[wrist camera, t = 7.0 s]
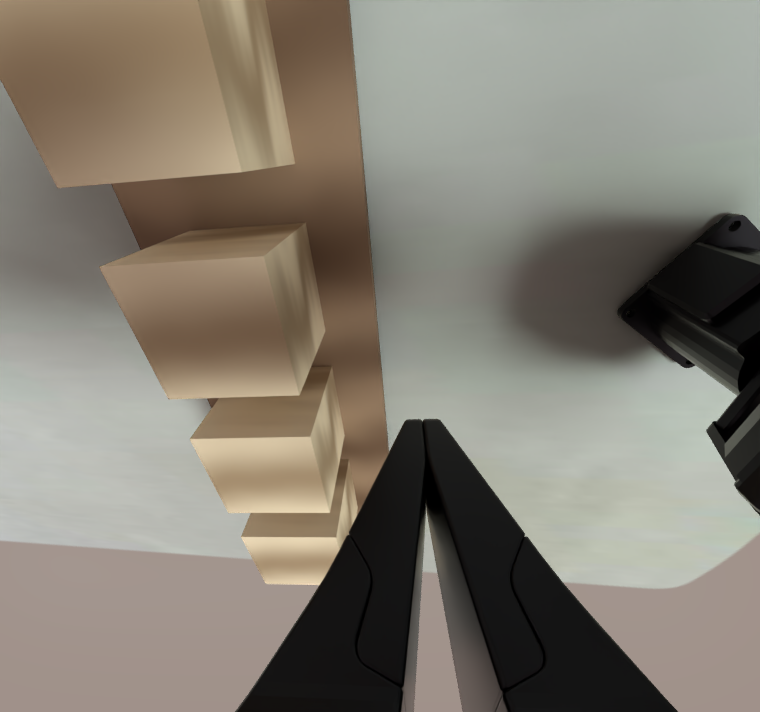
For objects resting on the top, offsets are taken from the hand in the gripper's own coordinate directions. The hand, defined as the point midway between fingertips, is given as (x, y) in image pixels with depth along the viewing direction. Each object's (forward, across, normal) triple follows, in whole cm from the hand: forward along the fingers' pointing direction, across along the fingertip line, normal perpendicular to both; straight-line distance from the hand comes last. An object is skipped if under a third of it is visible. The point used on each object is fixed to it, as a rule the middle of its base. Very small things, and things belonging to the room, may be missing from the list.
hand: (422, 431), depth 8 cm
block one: (+11, +8, -9) cm, 16 cm away
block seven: (+11, +8, 0) cm, 14 cm away
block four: (+11, +8, +17) cm, 22 cm away
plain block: (+11, +8, +8) cm, 16 cm away
